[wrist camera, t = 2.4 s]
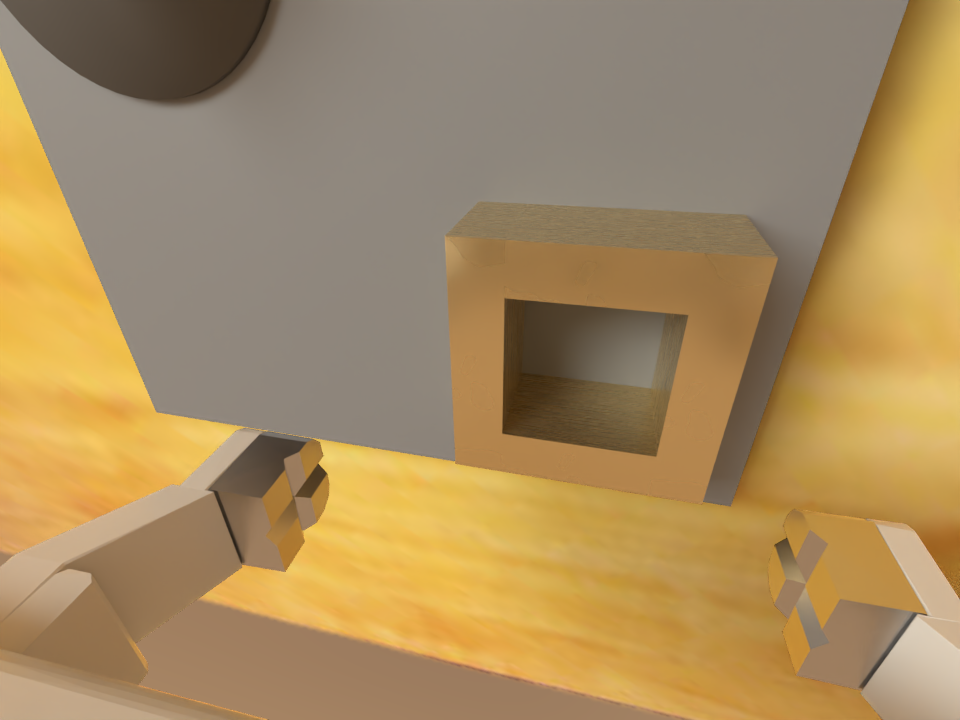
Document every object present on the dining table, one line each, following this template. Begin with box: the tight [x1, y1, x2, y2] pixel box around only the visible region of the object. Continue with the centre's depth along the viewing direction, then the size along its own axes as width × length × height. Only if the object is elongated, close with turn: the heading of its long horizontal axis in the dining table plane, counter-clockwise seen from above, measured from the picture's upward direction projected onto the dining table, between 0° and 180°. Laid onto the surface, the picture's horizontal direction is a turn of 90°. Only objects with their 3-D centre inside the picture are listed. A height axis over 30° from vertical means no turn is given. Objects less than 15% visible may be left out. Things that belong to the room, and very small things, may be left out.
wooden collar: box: [445, 201, 778, 504], centre depth 13 cm, size 6×6×3 cm
